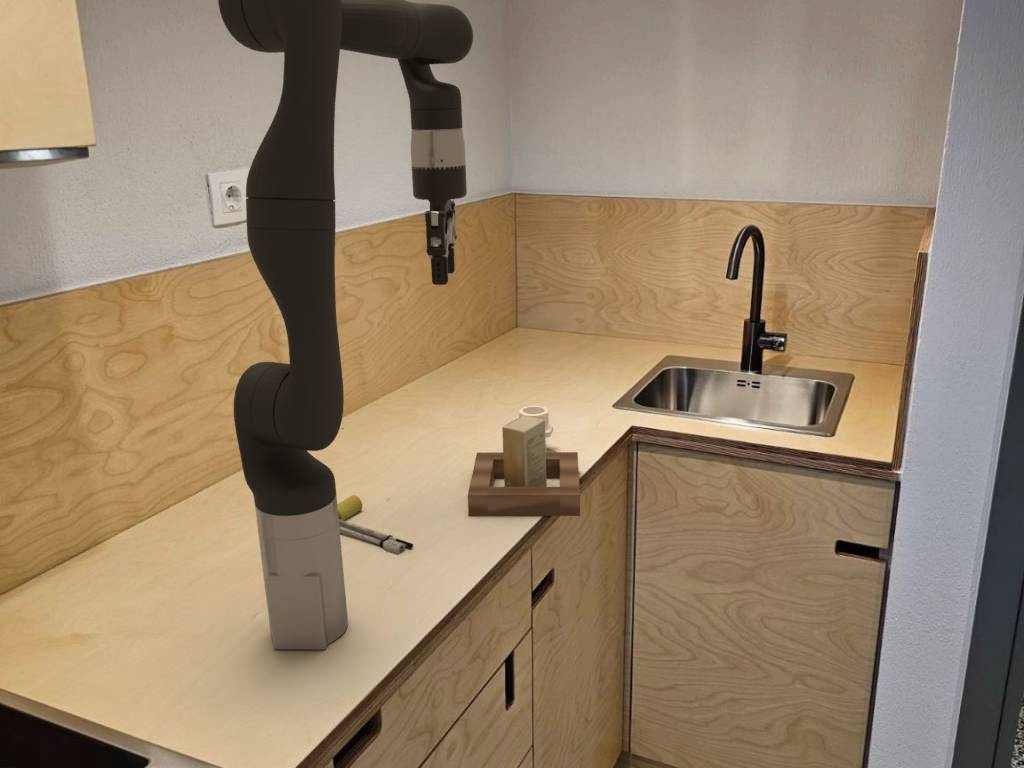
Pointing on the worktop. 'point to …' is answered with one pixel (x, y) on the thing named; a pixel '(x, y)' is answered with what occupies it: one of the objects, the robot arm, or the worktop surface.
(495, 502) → the brown square open frame
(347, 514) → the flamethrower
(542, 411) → the pipe fitting
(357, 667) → the worktop surface
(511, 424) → the skincare box
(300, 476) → the robot arm
